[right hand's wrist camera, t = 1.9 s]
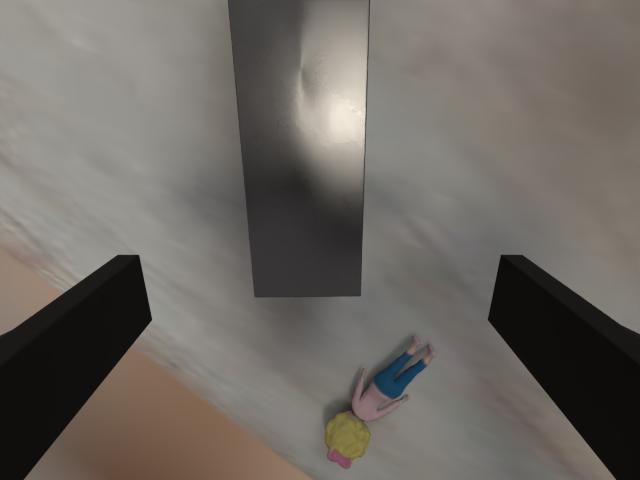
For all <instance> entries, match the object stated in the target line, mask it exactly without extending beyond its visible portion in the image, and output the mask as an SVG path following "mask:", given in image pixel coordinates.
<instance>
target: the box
mask: <svg viewBox="0 0 640 480" xmlns="http://www.w3.org/2000/svg"><path fill="white" fill-rule="evenodd" d="M228 7H229V18H230V29H231V40H232V51H233V62H234V73H235V85H236V96H237V107H238V118H239V129H240V140H241V151H242V162H243V173H244V184H245V196H246V207H247V218H248V229H249V240H250V251H251V262H252V273H253V284H254V295H255V297H332V296H361V268H362V237H363V205H364V174H365V142H366V111H367V79H368V47H369V16H370V0H228Z"/></svg>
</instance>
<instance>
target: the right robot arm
mask: <svg viewBox="0 0 640 480" xmlns="http://www.w3.org/2000/svg"><path fill="white" fill-rule="evenodd" d="M151 321H152V317H151V312H150V307H149V302H148V297H147V292H146V287H145V282H144V277H143V272H142V267H141V262H140V257H139V255H117V256H116V257H114V258H113V259H111V260H110V261H109V262H107V263H106V264H104V265H103V266H102V267H100V268H99V269H97V270H96V271H95V272H93V273H92V274H90V275H89V276H88V277H86V278H85V279H83V280H82V281H81V282H79V283H78V284H76V285H75V286H73V287H72V288H71V289H69V290H68V291H66V292H65V293H64V294H62V295H61V296H59V297H58V298H57V299H55V300H54V301H52V302H51V303H50V304H48V305H47V306H45V307H44V308H43V309H41V310H40V311H38V312H37V313H36V314H34V315H33V316H31V317H30V318H29V319H27V320H26V321H24V322H23V323H21V324H20V325H19V326H17V327H16V328H14V329H13V330H11V331H9V332H7V333H5V334H3V335H1V336H0V480H24V479H25V477H26V476H27V475H28V474H29V472H30V471H31V470H32V469H33V467H34V466H35V465H36V464H37V462H38V461H39V460H40V459H41V457H42V456H43V455H44V454H45V452H46V451H47V450H48V449H49V447H50V446H51V445H52V444H53V442H54V441H55V440H56V439H57V437H58V436H59V435H60V434H61V433H62V431H63V430H64V429H65V428H66V426H67V425H68V424H69V423H70V421H71V420H72V419H73V418H74V416H75V415H76V414H77V413H78V411H79V410H80V409H81V408H82V406H83V405H84V404H85V403H86V401H87V400H88V399H89V398H90V396H91V395H92V394H93V393H94V391H95V390H96V389H97V388H98V387H99V385H100V384H101V383H102V382H103V380H104V379H105V378H106V377H107V375H108V374H109V373H110V372H111V370H112V369H113V368H114V367H115V365H116V364H117V363H118V362H119V360H120V359H121V358H122V357H123V355H124V354H125V353H126V352H127V350H128V349H129V348H130V347H131V345H132V344H133V343H134V342H135V341H136V339H137V338H138V337H139V336H140V334H141V333H142V332H143V331H144V329H145V328H146V327H147V326H148V324H149V323H150V322H151ZM488 321H489V322H490V323H491V324H492V326H493V327H494V328H495V329H496V331H497V332H498V333H499V334H500V336H501V337H502V338H503V339H504V341H505V342H506V343H507V344H508V345H509V347H510V348H511V349H512V350H513V352H514V353H515V354H516V355H517V357H518V358H519V359H520V360H521V362H522V363H523V364H524V365H525V367H526V368H527V369H528V370H529V372H530V373H531V374H532V375H533V377H534V378H535V379H536V380H537V382H538V383H539V384H540V385H541V387H542V388H543V389H544V390H545V391H546V393H547V394H548V395H549V396H550V398H551V399H552V400H553V401H554V403H555V404H556V405H557V406H558V408H559V409H560V410H561V411H562V413H563V414H564V415H565V416H566V418H567V419H568V420H569V421H570V423H571V424H572V425H573V426H574V428H575V429H576V430H577V431H578V433H579V434H580V435H581V436H582V438H583V439H584V440H585V441H586V442H587V444H588V445H589V446H590V447H591V449H592V450H593V451H594V452H595V454H596V455H597V456H598V457H599V459H600V460H601V461H602V462H603V464H604V465H605V466H606V467H607V469H608V470H609V471H610V472H611V474H612V475H613V476H614V477H615V479H616V480H640V334H638V333H636V332H634V331H632V330H630V329H628V328H626V327H624V326H621V325H620V324H619V323H617V322H616V321H614V320H613V319H611V318H610V317H609V316H607V315H606V314H604V313H603V312H602V311H600V310H599V309H597V308H596V307H595V306H593V305H592V304H590V303H589V302H588V301H586V300H585V299H583V298H582V297H581V296H579V295H578V294H576V293H575V292H574V291H572V290H571V289H569V288H568V287H567V286H565V285H564V284H562V283H561V282H559V281H558V280H557V279H555V278H554V277H552V276H551V275H550V274H548V273H547V272H545V271H544V270H543V269H541V268H540V267H538V266H537V265H536V264H534V263H533V262H531V261H530V260H529V259H527V258H526V257H524V256H523V255H501V257H500V262H499V267H498V272H497V277H496V282H495V287H494V292H493V297H492V302H491V307H490V312H489V317H488Z"/></svg>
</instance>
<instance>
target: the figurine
mask: <svg viewBox="0 0 640 480" xmlns="http://www.w3.org/2000/svg"><path fill="white" fill-rule="evenodd" d="M412 338H413V343H412V345H411V347H410V348H409V349H408V350H407V351H406V352H405V353H403V354H402V355H401V356H400V357H398V358H397V359H396V360H395V361H394V362H393V363H392V364H390V365H389V366H388V367H387V368H386V369H384V370H383V371H381V372H380V373H379V374H377V375H376V376H375V377H374V378H373V380H372V382H371V384H370V386H369V388H368V389H367V390H366V391H365V393H364V394H363V395H362V396H361V397H360V395H361V393H362V389H363V385H364V377H365V372H366V369H365V368H363V371H362V373H361V379H360V380H359V381H358V384H357V387H356V390H355V393H354V396H353V399H352V409H353V411H352V410H350V411H346V412H344V413H338V414H337V415H336V416H335V418H332V419H330V420H328V422H327V423H326V425H325V443H326V445H327V447H328V448H329V451H328V455H327V457H328V459H329V460H330V461H333V462H338V464H339V465H340V466H342V467H343V468H345V469H348V468H349V467H350V466H351V463H352V461H353V459H355V458H357V457H362V456H363V455H364V453H365V448H367V445H368V442H369V440H370V431H369V429H368V427H367V426H366V425H365V424H364V422H363V420H364V421H373V420H376V419H378V418H380V417H382V416H384V415H386V414H388V413H390V412H391V411H392V410H394V409H395V408H397V407H398V406H399V404H400V403H402V402H405V401H407V400H408V399H409V395H408V394H407V395H404V396H403V397H402V398H401V399H400V400H396V401H394V402H392V403H390V404H388V405H387V406H385V407H384V408H382V409H379V410H377V408H378V406H379V405H380V403H382V402H385V401H389V400H393V399H395V398H397V397H398V396H400V395H401V394H402V392H403V390H404V389H405V387H406V386H407V385H408V384H409V383H410V382H411V381H412V379H413V378H414V377H415V376H416V375H417V374H418V373H419V372H421V371H422V370H423V369H424V368H425V367H426V366H427V365H428V363H429V362H430V360H431V359H433V358H434V357H435V356H436V352H435V350H434V349H433V347H432V346H431V345H428V354H427V356H426V357H425V358H423V359H420V360H419V361H418V362H417V363H416V364H415V365H412V366H410V367H409V368H408V369H406V370H405V371H404V372H403V373H401V374H400V375H399V376H398V377H397V378H396V379H395V380H393V378H394V376H395V374H396V373H397V372H399V371H400V369H401V368H402V367H403V366H404V365H405V363H406V362H407V361H408V360H409V359H410V358H411V357H412V356H413V355H414V353H415V350H416V349H417V348H418V347H419V346H420V345H421V342H420V340H419V339H418V337H417V336H416V335H413V336H412Z"/></svg>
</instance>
